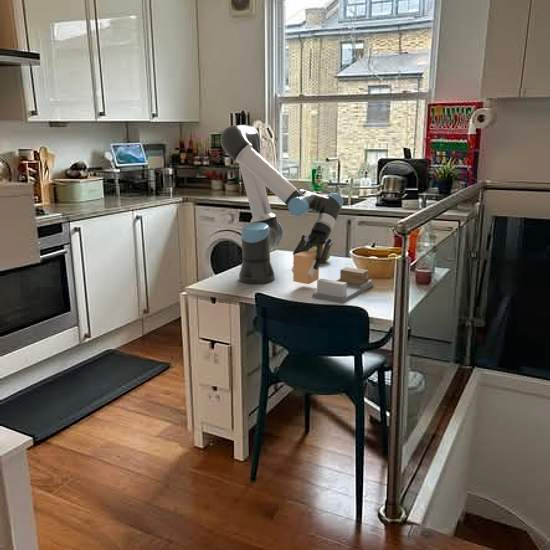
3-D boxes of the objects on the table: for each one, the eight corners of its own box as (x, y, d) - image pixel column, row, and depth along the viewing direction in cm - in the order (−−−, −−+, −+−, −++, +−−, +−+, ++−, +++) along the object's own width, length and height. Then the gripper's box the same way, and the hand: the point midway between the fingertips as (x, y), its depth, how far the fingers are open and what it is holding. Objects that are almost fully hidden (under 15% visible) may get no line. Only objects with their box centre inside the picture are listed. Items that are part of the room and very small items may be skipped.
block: (303, 276, 227) (304, 250, 223) (318, 279, 223) (319, 253, 220) (293, 281, 220) (293, 254, 217) (308, 284, 216) (308, 257, 213)
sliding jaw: (346, 278, 227) (346, 266, 226) (368, 282, 222) (368, 270, 220) (340, 281, 223) (340, 269, 222) (362, 285, 218) (362, 273, 216)
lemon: (320, 265, 254) (320, 248, 252) (308, 262, 260) (308, 246, 258) (335, 261, 261) (336, 245, 259) (323, 258, 267) (324, 242, 265)
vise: (344, 280, 230) (344, 265, 228) (373, 285, 223) (373, 270, 221) (312, 297, 209) (312, 281, 208) (342, 303, 202) (342, 286, 200)
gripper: (347, 235, 223) (326, 282, 215) (305, 229, 234) (284, 274, 226) (341, 224, 218) (320, 272, 209) (299, 218, 229) (276, 265, 220)
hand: (301, 273), depth 218 cm, fingers closed on block, 7 cm apart
